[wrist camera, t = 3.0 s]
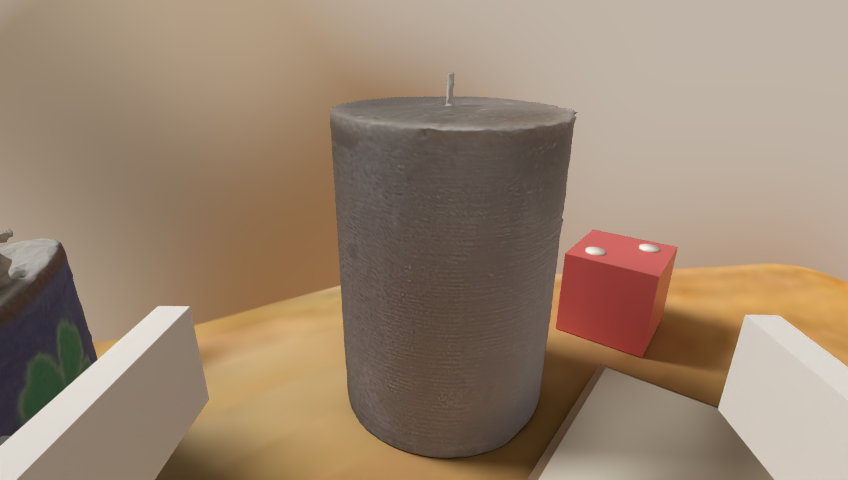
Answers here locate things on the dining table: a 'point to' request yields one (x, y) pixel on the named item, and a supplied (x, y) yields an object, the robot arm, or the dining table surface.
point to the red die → (615, 290)
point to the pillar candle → (447, 263)
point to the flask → (38, 329)
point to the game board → (644, 437)
